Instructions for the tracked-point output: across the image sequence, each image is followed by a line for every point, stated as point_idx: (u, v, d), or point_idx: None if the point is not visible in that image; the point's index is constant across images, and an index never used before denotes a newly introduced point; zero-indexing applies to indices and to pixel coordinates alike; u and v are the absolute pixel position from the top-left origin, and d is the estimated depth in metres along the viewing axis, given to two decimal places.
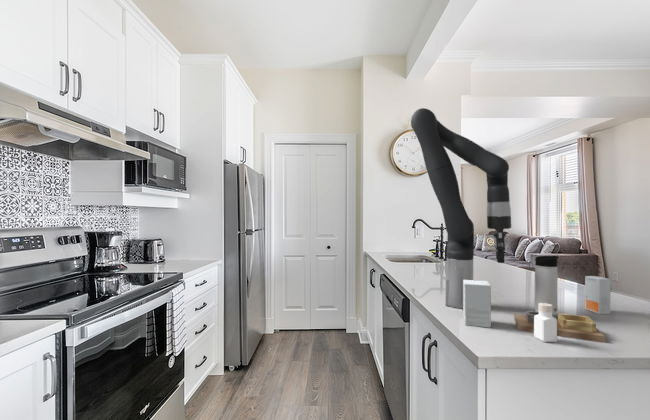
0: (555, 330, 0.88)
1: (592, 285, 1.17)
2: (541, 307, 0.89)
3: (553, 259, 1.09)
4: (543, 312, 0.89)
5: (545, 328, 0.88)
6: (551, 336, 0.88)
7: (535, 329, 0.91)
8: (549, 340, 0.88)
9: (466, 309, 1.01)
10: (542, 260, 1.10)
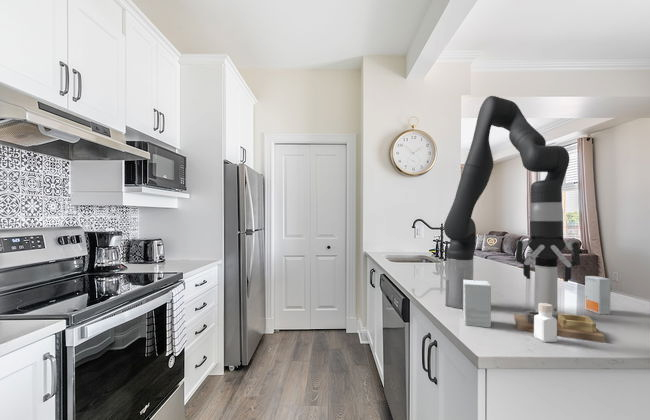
0: (555, 330, 0.88)
1: (592, 285, 1.17)
2: (541, 307, 0.89)
3: (553, 259, 1.09)
4: (543, 312, 0.89)
5: (545, 328, 0.88)
6: (551, 336, 0.88)
7: (535, 329, 0.91)
8: (549, 340, 0.88)
9: (466, 309, 1.01)
10: (542, 260, 1.10)
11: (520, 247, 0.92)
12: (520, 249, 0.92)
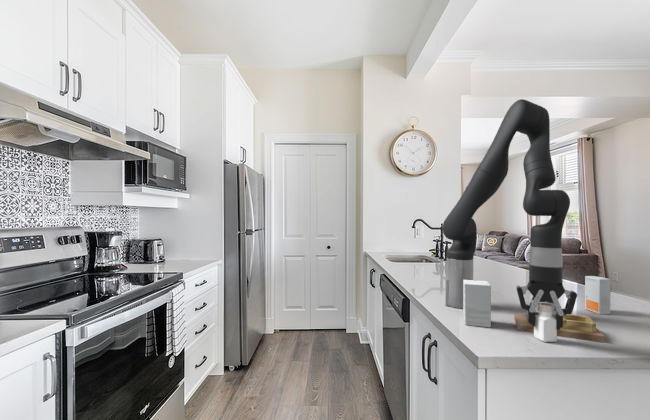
0: (555, 330, 0.88)
1: (592, 285, 1.17)
2: (541, 307, 0.89)
3: None
4: (543, 312, 0.89)
5: (545, 328, 0.88)
6: (551, 336, 0.88)
7: (535, 329, 0.91)
8: (549, 340, 0.88)
9: (466, 309, 1.01)
10: None
11: (521, 294, 0.91)
12: (521, 296, 0.91)
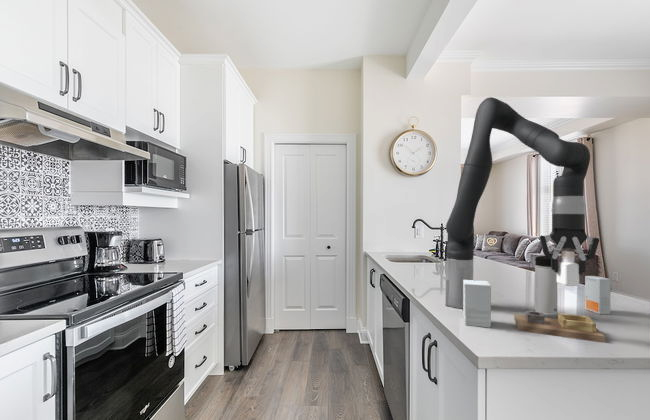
0: (577, 274, 0.92)
1: (592, 285, 1.17)
2: (564, 253, 0.94)
3: None
4: (565, 258, 0.93)
5: (568, 272, 0.92)
6: (573, 280, 0.92)
7: (558, 276, 0.95)
8: (572, 284, 0.92)
9: (466, 309, 1.01)
10: (542, 260, 1.10)
11: (544, 242, 0.96)
12: (545, 244, 0.96)
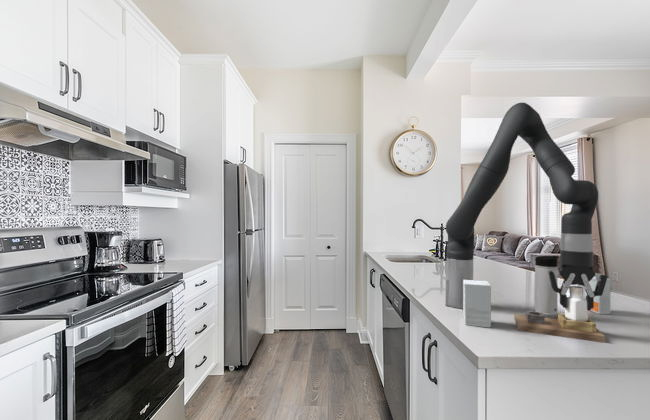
0: (586, 311, 0.94)
1: (592, 285, 1.17)
2: (572, 289, 0.96)
3: (553, 259, 1.09)
4: (574, 294, 0.95)
5: (577, 309, 0.94)
6: (582, 316, 0.94)
7: (566, 311, 0.97)
8: (581, 320, 0.94)
9: (466, 309, 1.01)
10: (542, 260, 1.10)
11: (553, 277, 0.98)
12: (554, 279, 0.98)
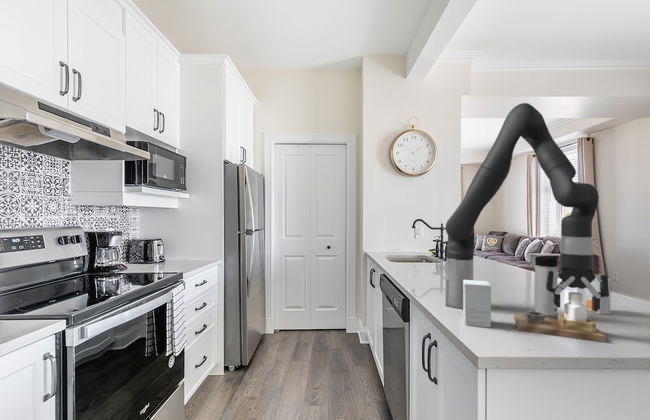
0: (585, 317, 0.94)
1: (592, 285, 1.17)
2: (571, 296, 0.96)
3: (553, 259, 1.09)
4: (573, 301, 0.95)
5: (576, 315, 0.94)
6: None
7: (565, 317, 0.97)
8: None
9: (466, 309, 1.01)
10: (542, 260, 1.10)
11: (551, 277, 0.98)
12: (551, 279, 0.98)
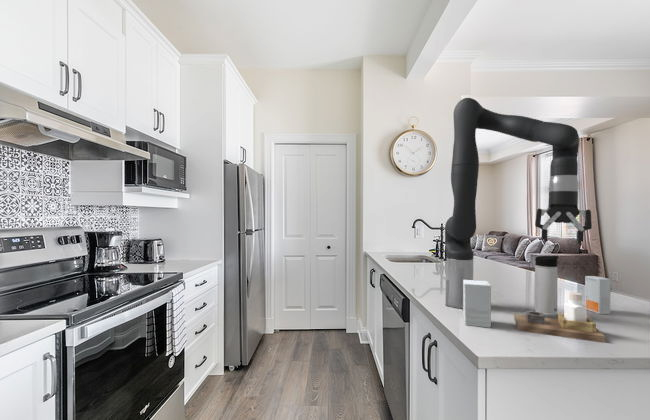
0: (585, 317, 0.94)
1: (592, 285, 1.17)
2: (571, 296, 0.96)
3: (553, 259, 1.09)
4: (573, 301, 0.95)
5: (576, 315, 0.94)
6: None
7: (565, 317, 0.97)
8: None
9: (466, 309, 1.01)
10: (542, 260, 1.10)
11: (539, 214, 1.07)
12: (539, 216, 1.07)
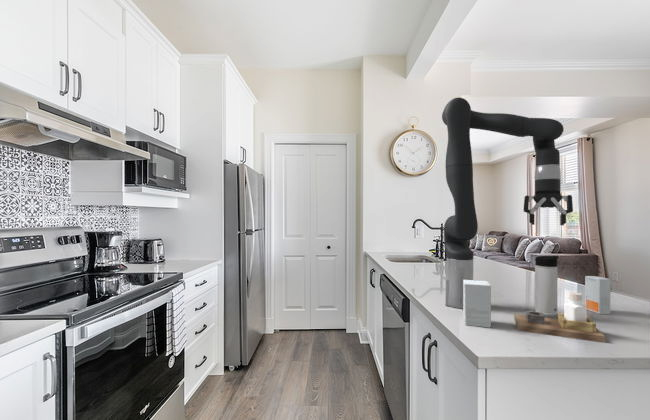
0: (585, 317, 0.94)
1: (592, 285, 1.17)
2: (571, 296, 0.96)
3: (553, 259, 1.09)
4: (573, 301, 0.95)
5: (576, 315, 0.94)
6: None
7: (565, 317, 0.97)
8: None
9: (466, 309, 1.01)
10: (542, 260, 1.10)
11: (527, 200, 1.19)
12: (527, 202, 1.19)
